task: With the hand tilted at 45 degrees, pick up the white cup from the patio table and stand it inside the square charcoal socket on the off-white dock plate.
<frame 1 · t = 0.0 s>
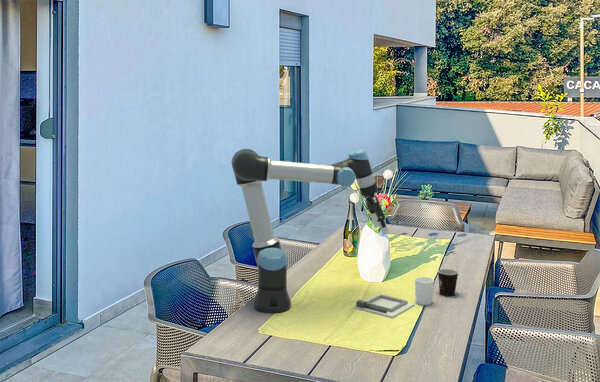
hand: (381, 230, 273), 28 cm above the table, tool tilted 20°, fingers open, 13 cm apart
dock: (385, 306, 259), on the table
white cup: (423, 303, 264), on the table
coffee mug: (446, 293, 276), on the table
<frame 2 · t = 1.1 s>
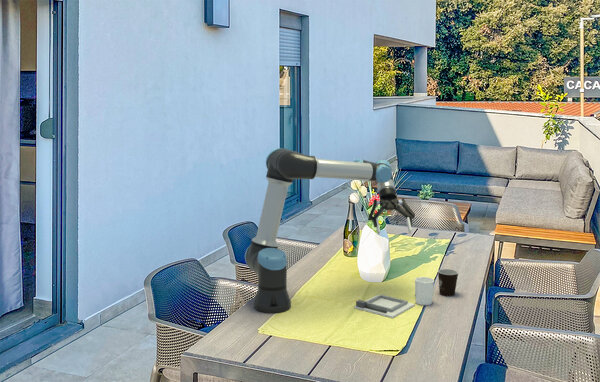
hand: (394, 232, 266), 28 cm above the table, tool tilted 45°, fingers open, 13 cm apart
nothing on the table moved.
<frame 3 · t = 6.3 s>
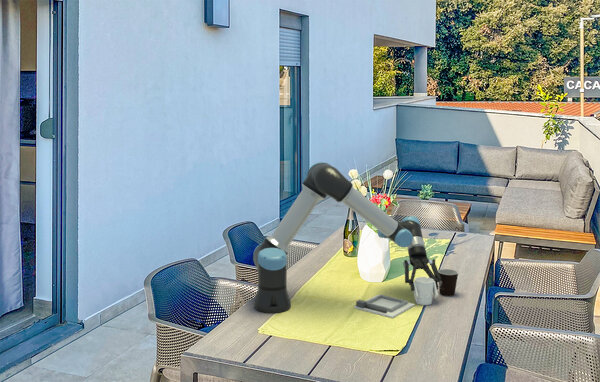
hand: (426, 297, 260), 4 cm above the table, tool tilted 45°, fingers closed on white cup, 8 cm apart
white cup: (423, 303, 264), on the table, touching gripper
everything else where it was.
when the fingers open (5 cm above the table, at t = 11.9 s): white cup moves 3 cm, resting on dock.
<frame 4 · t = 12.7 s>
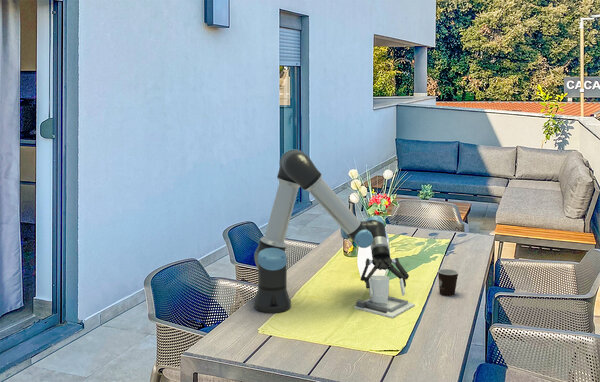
hand: (387, 294, 256), 6 cm above the table, tool tilted 45°, fingers open, 13 cm apart
white cup: (379, 301, 259), point 2 cm above the table, touching dock, gripper
everything else where it was.
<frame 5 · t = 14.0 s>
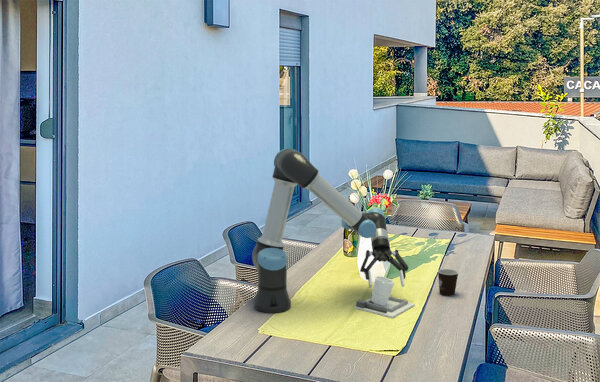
hand: (387, 286, 258), 9 cm above the table, tool tilted 45°, fingers open, 13 cm apart
white cup: (378, 302, 259), point 1 cm above the table, touching dock
everything else where it was.
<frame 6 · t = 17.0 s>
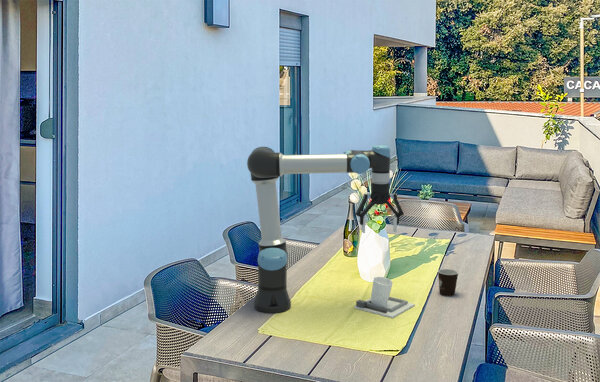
hand: (379, 232, 266), 29 cm above the table, tool pointing down, fingers open, 13 cm apart
at the end: white cup inside the target area on the dock (3.1 cm from its centre), point 1.2 cm above the dock's base; white cup tilted 11°; the gripper is holding nothing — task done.
